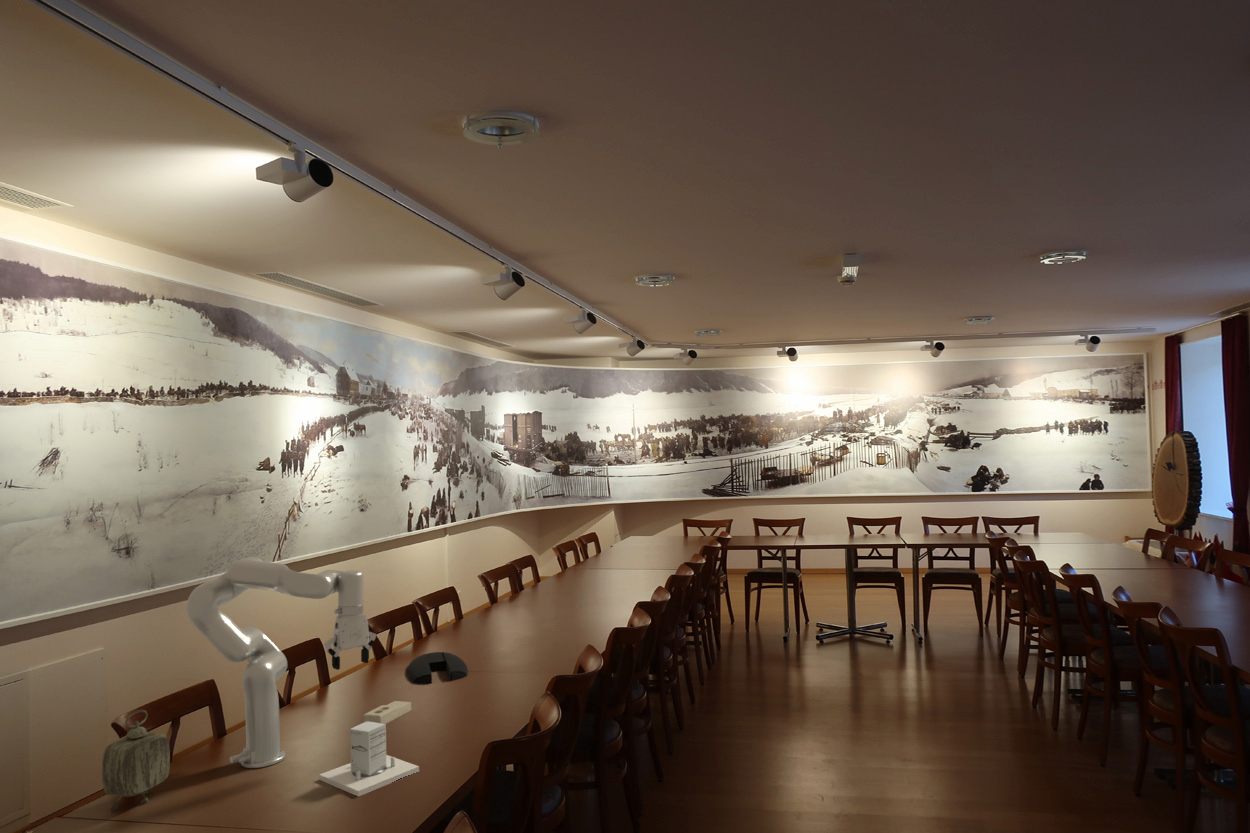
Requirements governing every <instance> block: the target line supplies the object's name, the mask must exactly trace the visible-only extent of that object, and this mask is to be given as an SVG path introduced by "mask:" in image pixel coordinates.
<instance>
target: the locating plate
mask: <svg viewBox="0 0 1250 833" xmlns="http://www.w3.org/2000/svg"><path fill="white" fill-rule="evenodd" d="M386 764H387V766H386V767H385V768H383V769H381V770H380V771H378V772H376V773H374V774H372V775H370V776H368V775H365V774H360V770H357V771H356V773H355V772H351V762H350V763H347V764H344V765H341V766H339V767H338V766H337V767H336V768H332V769H331V770H328V771H325V772H323V773H319V778H318V779H319V781H322V782H323V783H326V784H328V785H330V786H333V787H335V788H338V789H339V790H342V791H345V792H347V793H348V794H352V795H354V796H357V797H361V796H364V795H366V794H368V793H370V792H373V791H375V790H377V789H380V788H383V787H385V786H388V785H391V784H393V783H395V782H397V781H396V780H398V779H400V778H402V779H404V778H403V777H405V776H407V777H409V776H408V775H410V776H412V775H414V774H413V773H415V774H417V773H419V772H420V766H419V765H416V764H414V763H410V762H407V761H405V760H402V759H400V758H397V757H395V756H391V755H388V754H386ZM416 772H417V773H416ZM411 774H412V775H411ZM405 778H406V777H405ZM400 780H401V779H400ZM394 781H395V782H394ZM398 781H399V780H398ZM392 782H393V783H392Z"/></svg>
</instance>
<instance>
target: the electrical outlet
mask: <svg viewBox="0 0 1250 833" xmlns="http://www.w3.org/2000/svg"><path fill="white" fill-rule="evenodd" d="M410 711H412V702H411V701H401V700H400V701H399V700H393V701H392V702H390V703H388V704H385V705H384V704H382V705H379V706H378V707H376V708H374V709H372V710H370V711H368V712H366V713H364V714H363V717H362V718H363V723H364V722H367V721H369V722H375V723H381V724H386V725H387V724H388V723H390V722H393V721H394V720H396V719H398V718H400V717H401V716H403V715H404V714H406V713H409V712H410Z"/></svg>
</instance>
